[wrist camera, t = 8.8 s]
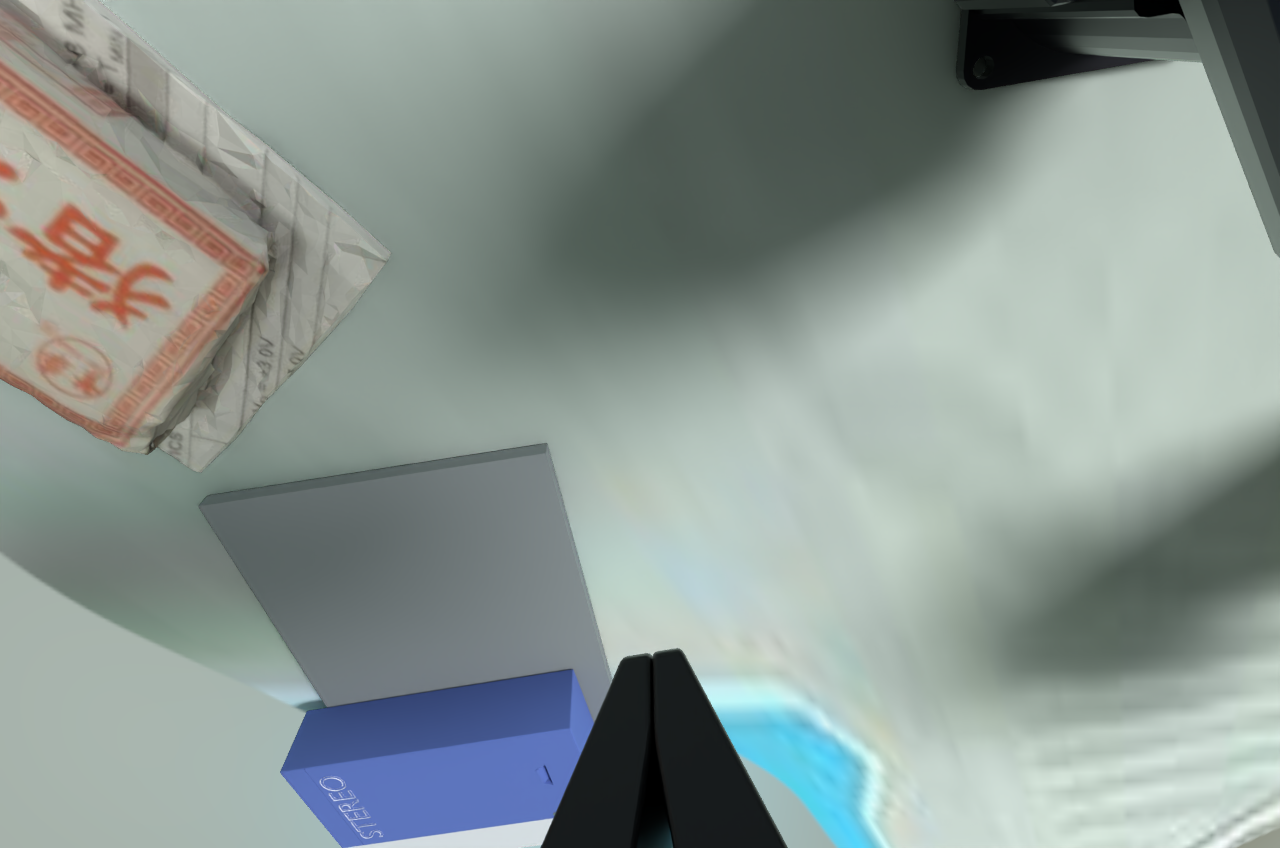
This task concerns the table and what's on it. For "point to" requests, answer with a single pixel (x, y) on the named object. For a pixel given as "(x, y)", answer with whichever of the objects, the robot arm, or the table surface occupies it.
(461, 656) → the mat
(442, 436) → the table surface
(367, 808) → the walkman
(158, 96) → the packaged product
